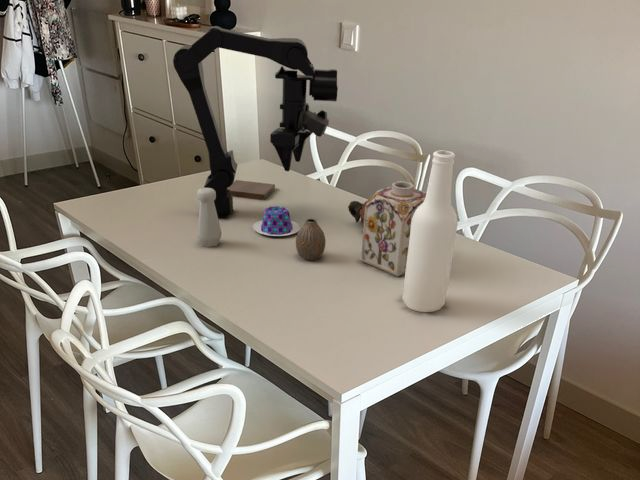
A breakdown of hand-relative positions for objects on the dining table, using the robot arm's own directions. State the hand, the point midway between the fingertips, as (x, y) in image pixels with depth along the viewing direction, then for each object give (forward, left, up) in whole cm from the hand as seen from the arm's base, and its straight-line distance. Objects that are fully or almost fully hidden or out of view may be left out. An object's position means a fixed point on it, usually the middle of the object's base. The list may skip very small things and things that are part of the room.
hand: (292, 166), depth 169 cm
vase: (+12, -25, -13) cm, 31 cm away
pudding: (-1, -11, -13) cm, 17 cm away
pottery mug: (+21, -1, -13) cm, 25 cm away
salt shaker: (-13, -25, -13) cm, 31 cm away
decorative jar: (+31, -22, -13) cm, 40 cm away
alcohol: (+40, -41, -13) cm, 59 cm away
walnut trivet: (-17, +15, -13) cm, 26 cm away
